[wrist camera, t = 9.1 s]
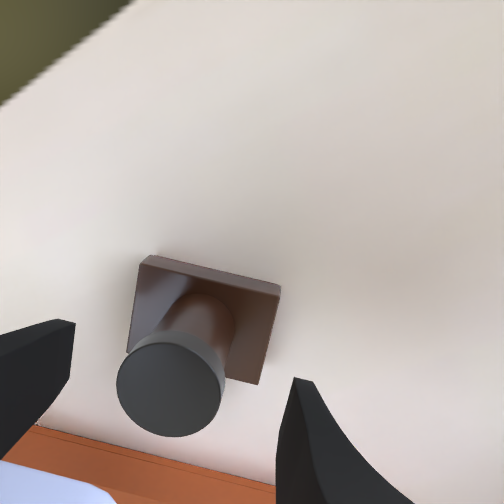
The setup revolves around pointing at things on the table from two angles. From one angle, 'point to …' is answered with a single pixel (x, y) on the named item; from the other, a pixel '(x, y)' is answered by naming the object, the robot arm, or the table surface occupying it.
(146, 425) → the stamp
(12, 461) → the tray
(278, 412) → the table surface
